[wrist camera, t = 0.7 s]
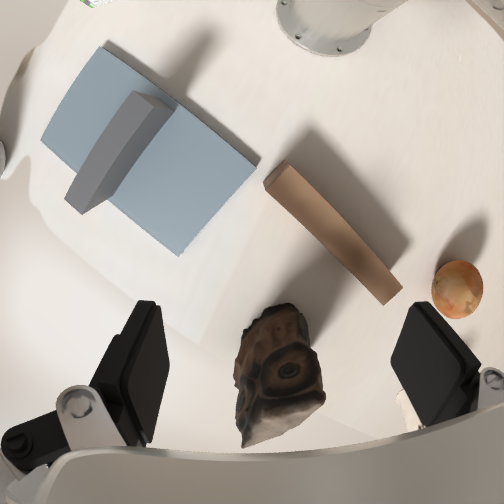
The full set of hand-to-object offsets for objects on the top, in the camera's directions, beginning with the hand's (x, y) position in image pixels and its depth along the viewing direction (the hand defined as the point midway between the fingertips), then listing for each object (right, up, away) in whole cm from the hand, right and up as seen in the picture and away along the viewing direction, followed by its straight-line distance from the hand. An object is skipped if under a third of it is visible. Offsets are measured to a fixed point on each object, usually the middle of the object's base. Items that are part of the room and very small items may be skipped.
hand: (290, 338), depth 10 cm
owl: (+3, -11, +38) cm, 40 cm away
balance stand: (-17, +17, +25) cm, 34 cm away
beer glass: (+36, -31, +47) cm, 67 cm away
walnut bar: (+10, +6, +31) cm, 33 cm away
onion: (+33, -1, +34) cm, 47 cm away
